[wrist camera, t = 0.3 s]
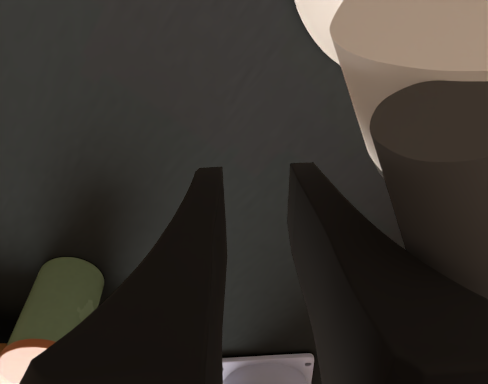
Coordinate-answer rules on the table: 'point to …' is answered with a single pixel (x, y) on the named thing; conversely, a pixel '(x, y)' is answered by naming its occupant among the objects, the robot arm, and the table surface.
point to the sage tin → (51, 311)
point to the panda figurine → (420, 117)
